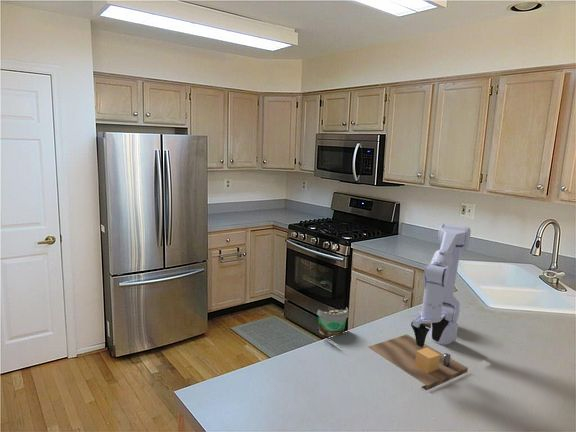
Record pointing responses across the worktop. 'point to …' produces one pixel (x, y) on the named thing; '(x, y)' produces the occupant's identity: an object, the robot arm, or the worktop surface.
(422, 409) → the worktop surface
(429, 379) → the walnut board
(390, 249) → the worktop surface
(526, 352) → the worktop surface
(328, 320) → the food container
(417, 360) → the peach wooden cube
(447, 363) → the dark post
